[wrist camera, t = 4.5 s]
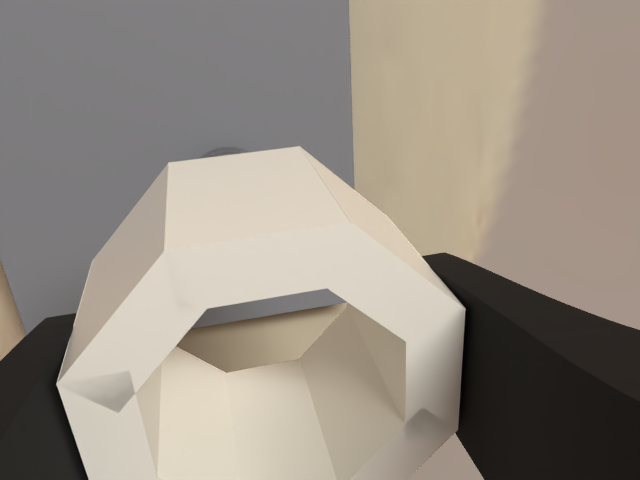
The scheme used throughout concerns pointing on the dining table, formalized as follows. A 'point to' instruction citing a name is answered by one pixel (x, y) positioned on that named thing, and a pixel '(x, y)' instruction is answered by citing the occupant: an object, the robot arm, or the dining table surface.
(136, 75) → the gray board
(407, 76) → the dining table surface
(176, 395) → the cream ring
